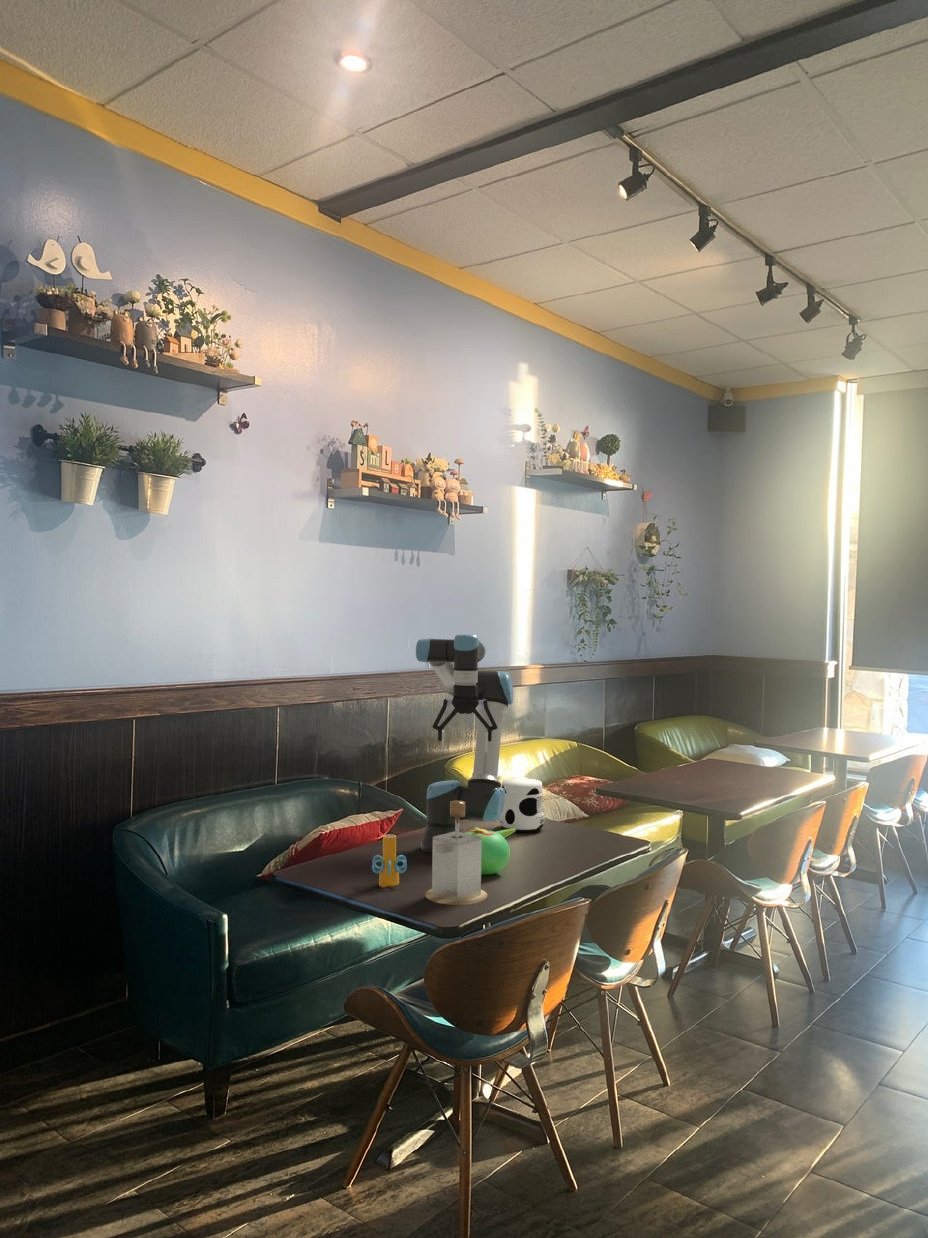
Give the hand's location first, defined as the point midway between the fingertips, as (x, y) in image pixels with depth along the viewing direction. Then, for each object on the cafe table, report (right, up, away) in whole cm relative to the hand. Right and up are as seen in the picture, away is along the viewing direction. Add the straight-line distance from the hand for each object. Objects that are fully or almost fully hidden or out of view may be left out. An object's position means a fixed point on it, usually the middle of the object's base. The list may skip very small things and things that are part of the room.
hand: (464, 751), depth 294 cm
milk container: (+22, -38, +62) cm, 76 cm away
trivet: (-2, -39, -22) cm, 45 cm away
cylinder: (-23, -39, -12) cm, 46 cm away
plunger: (-2, -31, -22) cm, 38 cm away
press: (-2, -38, -22) cm, 44 cm away
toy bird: (+6, -39, +3) cm, 39 cm away
